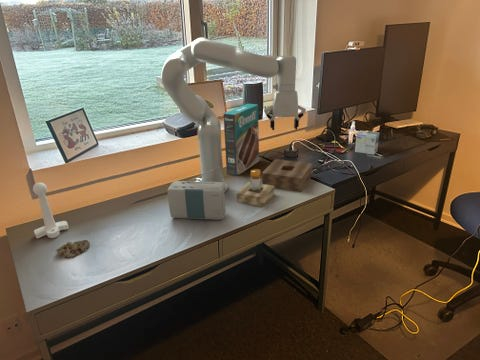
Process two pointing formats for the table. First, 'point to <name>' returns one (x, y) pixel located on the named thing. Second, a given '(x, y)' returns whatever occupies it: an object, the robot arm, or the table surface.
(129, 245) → the table surface
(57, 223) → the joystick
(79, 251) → the mineral rock
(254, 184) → the orange capped bottle
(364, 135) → the light bulb box
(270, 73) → the robot arm
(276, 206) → the table surface
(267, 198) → the stand
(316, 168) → the hacksaw
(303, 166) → the block
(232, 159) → the cake mix box
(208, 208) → the stereo radio cassette player
